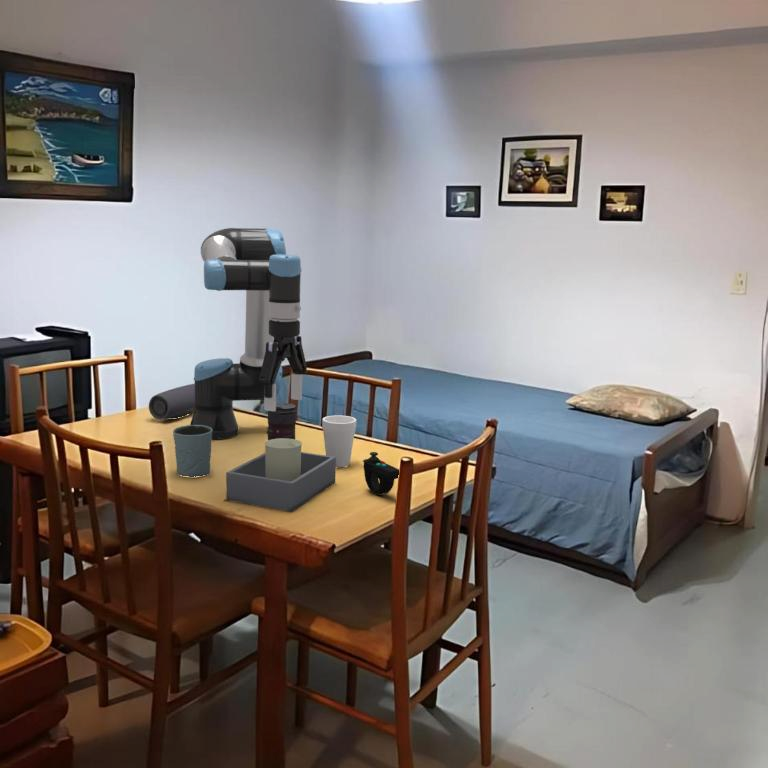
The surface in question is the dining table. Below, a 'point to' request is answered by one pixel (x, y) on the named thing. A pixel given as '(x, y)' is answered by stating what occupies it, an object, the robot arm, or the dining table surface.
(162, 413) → the bluetooth speaker
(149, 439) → the dining table surface
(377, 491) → the controller
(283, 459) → the can
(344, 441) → the foam cup
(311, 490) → the box
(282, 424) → the camera lens
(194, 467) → the blue-grey textured cup
